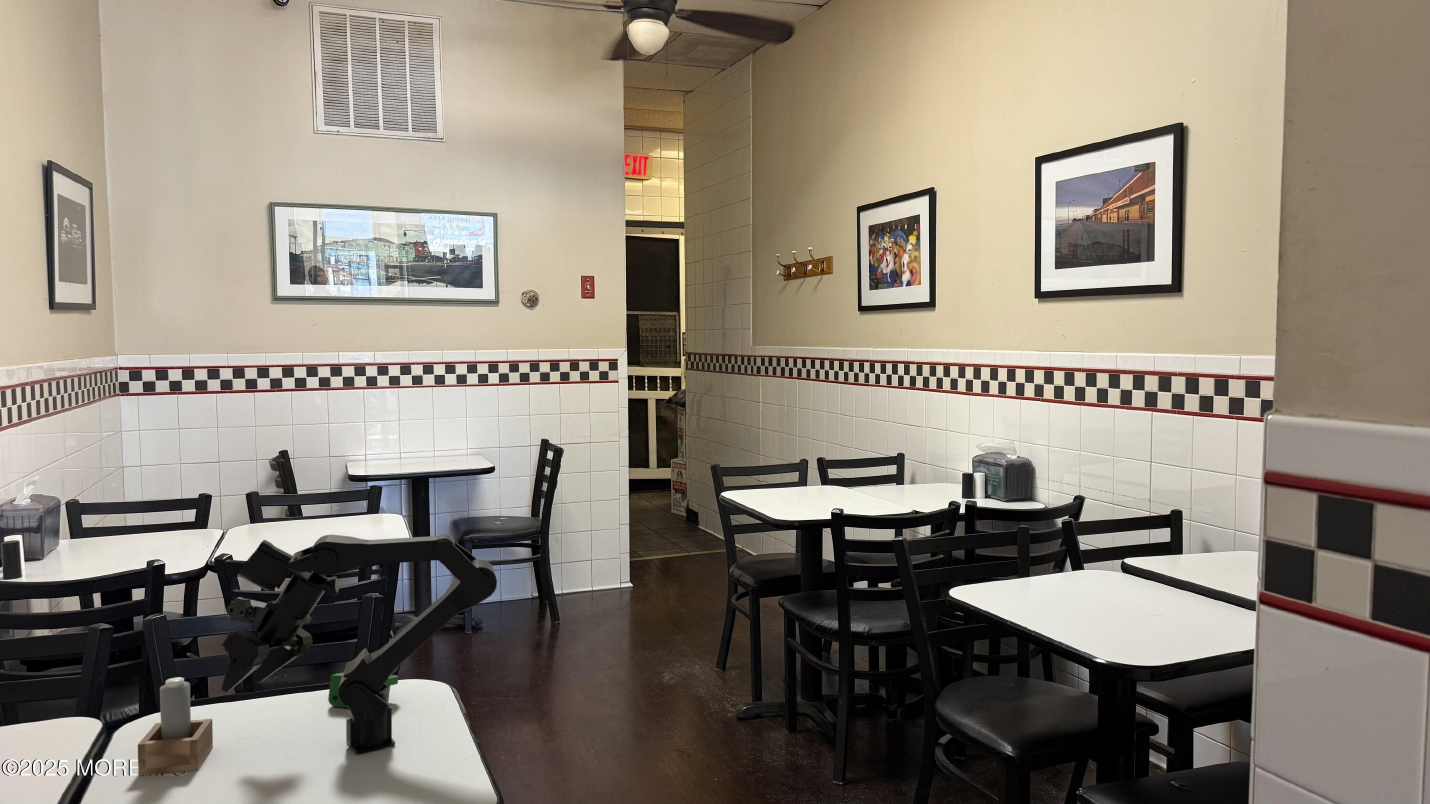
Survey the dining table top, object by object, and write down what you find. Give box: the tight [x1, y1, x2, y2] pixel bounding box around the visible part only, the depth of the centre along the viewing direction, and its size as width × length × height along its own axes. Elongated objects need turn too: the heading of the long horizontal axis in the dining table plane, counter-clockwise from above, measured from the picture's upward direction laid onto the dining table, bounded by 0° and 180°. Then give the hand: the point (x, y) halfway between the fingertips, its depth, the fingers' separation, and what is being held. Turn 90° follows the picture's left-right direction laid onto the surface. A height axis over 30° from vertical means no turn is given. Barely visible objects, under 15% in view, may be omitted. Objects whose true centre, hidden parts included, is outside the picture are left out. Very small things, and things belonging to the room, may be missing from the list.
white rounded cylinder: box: [159, 676, 192, 740], centre depth 150 cm, size 4×4×12 cm
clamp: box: [327, 672, 399, 708], centre depth 176 cm, size 12×6×9 cm, turn 75°
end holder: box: [137, 718, 214, 776], centre depth 150 cm, size 8×8×5 cm
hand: (240, 686), depth 152 cm, fingers open, 9 cm apart
